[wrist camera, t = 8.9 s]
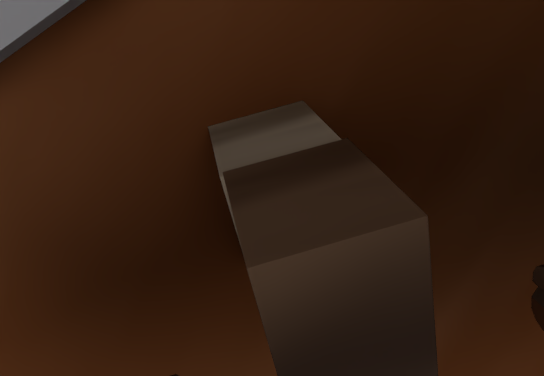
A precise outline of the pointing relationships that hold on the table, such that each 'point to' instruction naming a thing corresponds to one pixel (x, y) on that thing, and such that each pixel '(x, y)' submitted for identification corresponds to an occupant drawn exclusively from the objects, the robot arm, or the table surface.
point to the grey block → (28, 20)
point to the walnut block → (336, 264)
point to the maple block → (267, 137)
